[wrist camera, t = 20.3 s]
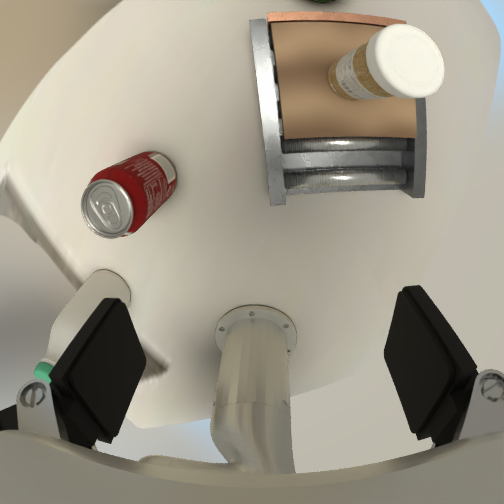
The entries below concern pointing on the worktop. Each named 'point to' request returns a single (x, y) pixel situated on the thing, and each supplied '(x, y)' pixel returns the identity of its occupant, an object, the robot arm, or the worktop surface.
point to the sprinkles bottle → (389, 66)
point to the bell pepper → (323, 0)
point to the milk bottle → (80, 315)
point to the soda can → (127, 194)
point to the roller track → (326, 158)
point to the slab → (320, 92)
